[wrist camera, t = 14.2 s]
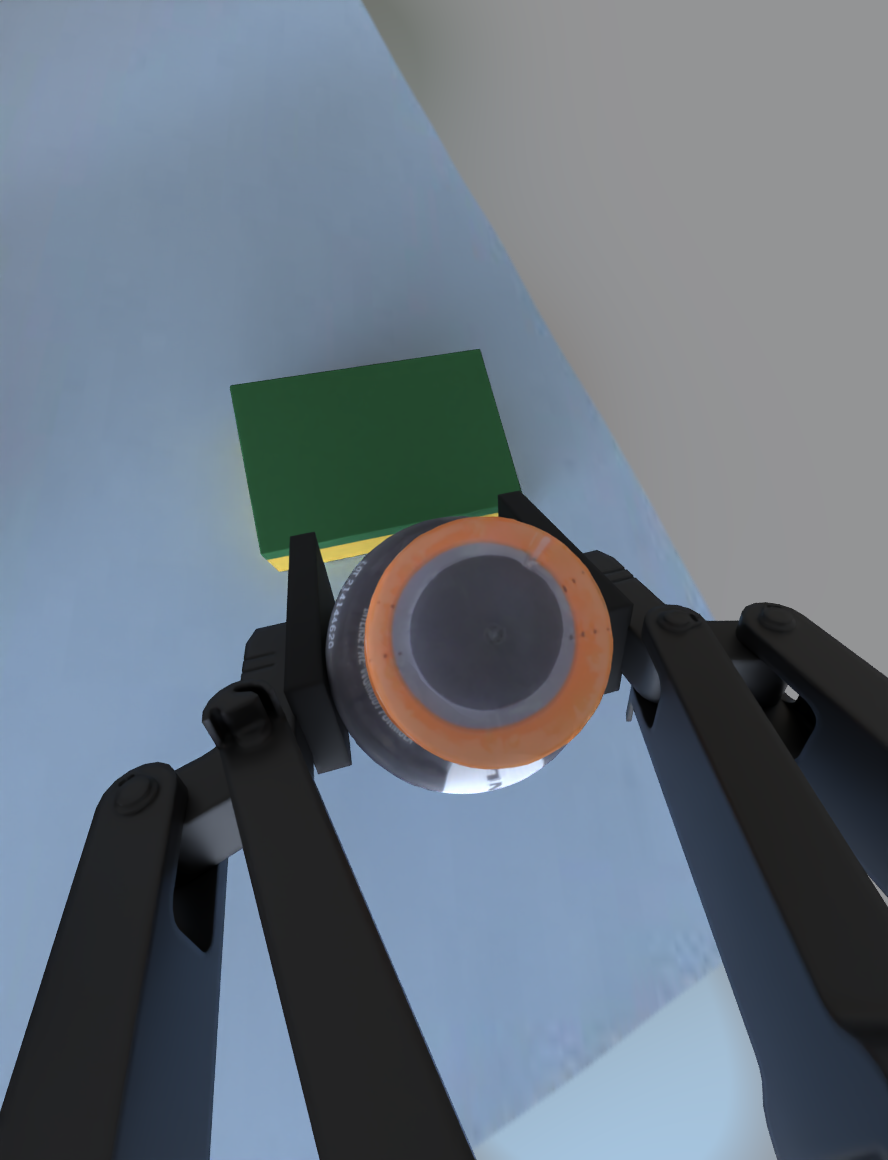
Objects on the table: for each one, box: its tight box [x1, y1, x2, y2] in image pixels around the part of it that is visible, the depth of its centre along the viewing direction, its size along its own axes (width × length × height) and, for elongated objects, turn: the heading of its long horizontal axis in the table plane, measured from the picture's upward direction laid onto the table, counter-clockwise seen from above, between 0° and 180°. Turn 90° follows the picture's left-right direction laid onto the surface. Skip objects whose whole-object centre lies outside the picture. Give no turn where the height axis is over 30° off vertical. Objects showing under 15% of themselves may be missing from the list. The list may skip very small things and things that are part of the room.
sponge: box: [230, 349, 522, 572], centre depth 21 cm, size 11×8×3 cm
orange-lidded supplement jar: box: [325, 516, 613, 794], centre depth 13 cm, size 6×6×11 cm
